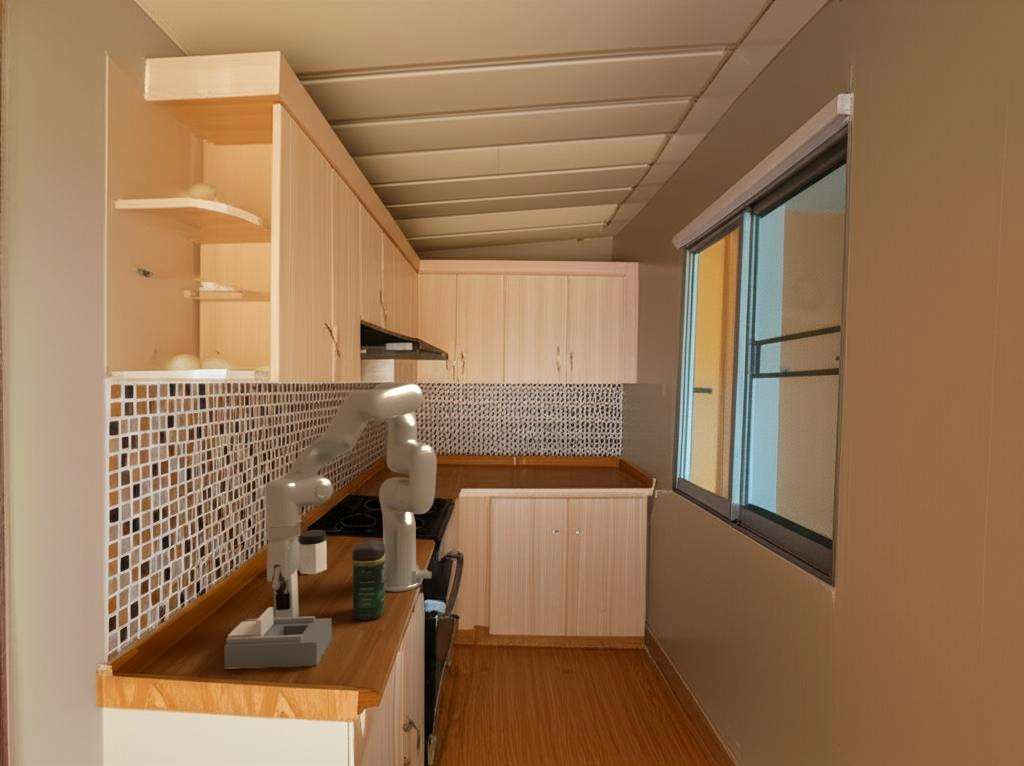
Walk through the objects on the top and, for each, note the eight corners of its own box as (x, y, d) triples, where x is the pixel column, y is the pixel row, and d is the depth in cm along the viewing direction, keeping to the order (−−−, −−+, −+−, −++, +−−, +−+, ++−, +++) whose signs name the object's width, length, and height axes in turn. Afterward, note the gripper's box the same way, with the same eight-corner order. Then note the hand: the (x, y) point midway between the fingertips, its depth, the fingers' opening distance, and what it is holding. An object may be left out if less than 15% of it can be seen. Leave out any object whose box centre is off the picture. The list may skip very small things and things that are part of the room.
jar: (294, 575, 172) (293, 537, 172) (302, 566, 180) (302, 530, 180) (322, 574, 172) (322, 536, 172) (330, 565, 181) (329, 529, 181)
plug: (298, 615, 137) (296, 558, 136) (293, 623, 132) (290, 564, 132) (281, 616, 136) (279, 558, 136) (275, 624, 132) (272, 564, 132)
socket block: (331, 639, 129) (331, 613, 129) (316, 665, 117) (316, 637, 117) (248, 642, 127) (248, 617, 127) (224, 669, 115) (224, 641, 115)
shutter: (273, 623, 125) (273, 607, 125) (261, 637, 118) (261, 620, 118) (242, 624, 125) (241, 608, 125) (227, 639, 118) (227, 621, 118)
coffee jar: (381, 620, 138) (380, 547, 138) (349, 622, 138) (348, 548, 138) (388, 605, 148) (387, 536, 148) (358, 606, 148) (357, 537, 147)
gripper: (280, 521, 142) (283, 591, 142) (253, 542, 125) (257, 621, 126) (309, 520, 142) (312, 590, 143) (287, 540, 126) (290, 619, 126)
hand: (286, 604), depth 134 cm, fingers closed on plug, 4 cm apart
